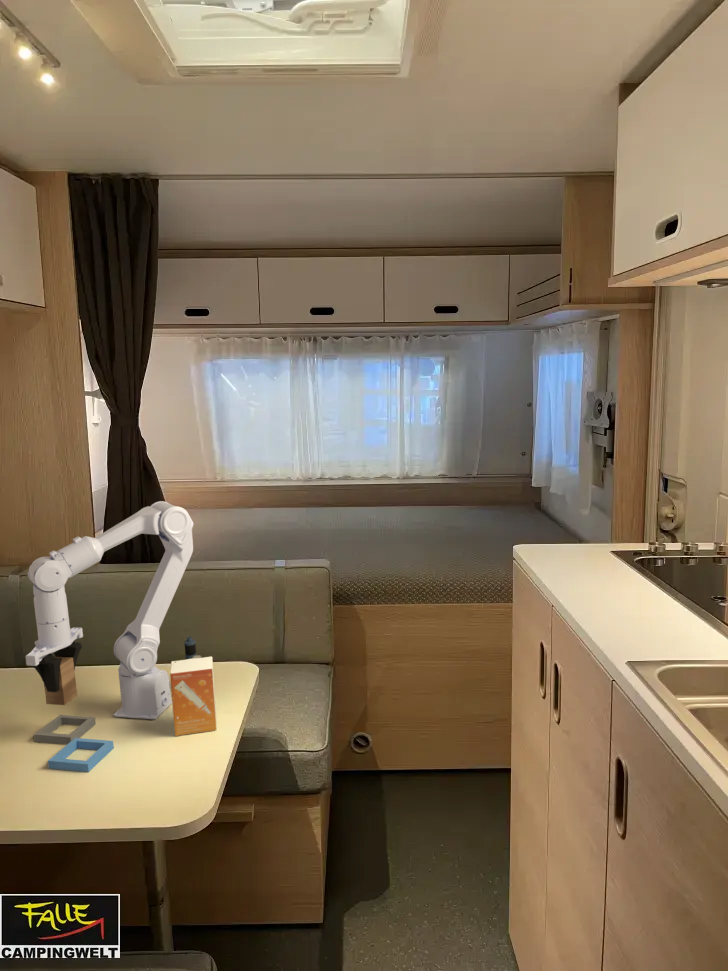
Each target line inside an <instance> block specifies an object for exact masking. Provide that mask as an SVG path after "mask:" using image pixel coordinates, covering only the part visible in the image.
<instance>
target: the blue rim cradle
mask: <svg viewBox="0 0 728 971" xmlns="http://www.w3.org/2000/svg"><path fill="white" fill-rule="evenodd" d="M80 748H81V749H80ZM113 748H115V747H114V740H107V739H94V738H82V737H80V738H74V739H73V740H72V741H71V742H70V743H68V744H65V746H64V747H62V748H61V749H60V750H59V751H58V752H57V753H55V755H53V756H51V758H49V759H48V760H47V763H48V764H47V765H48V769H52V770H62V771H72V772H84V773H89V772H90V771H92V769H94V768H95V767H96V766H97V765H98V764H99V763H100V762H101V761H102V760H104V758H106V756H107V755H108V754H110V753H111V751H113ZM78 749H80V750H82V749H83V750H94V751H95V752H94V753H92V755H91V756H89V757H88V758H87V759H86V760H81V759H70V758H68V757H69V756H70V755H72V754H73V753H74V752H75V751H77V750H78Z"/></svg>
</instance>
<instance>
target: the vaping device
mask: <svg viewBox="0 0 728 971" xmlns="http://www.w3.org/2000/svg"><path fill="white" fill-rule="evenodd" d="M196 644H197V643H196V639H193V637H192V636H187V637H186V640H184V654H185V659H184V660H186V659H193V658H203V657H202V655H201V654H197V645H196Z"/></svg>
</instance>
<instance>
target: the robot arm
mask: <svg viewBox="0 0 728 971" xmlns="http://www.w3.org/2000/svg"><path fill="white" fill-rule="evenodd" d="M194 524H195V523H194V522H193V520H192V518H191V516H190V514H189V512H188V510H186V509H185V508H183V507H181V506H176V505H173V504H171V503H169V502H168V501H163V500H162V501H161V500H159V501H156V502H154V503H152V504H151V505H150V506H149V505H148V506H145V507H142V508H141V509H140V510H138V511H137V512H135V513H133V514H132V515H130V516H129V517H127V518H125V519H124V520H122V521H121V522H118V523H117V524H115V525H114V526H112V527H111V528H108V529H107V530H106V531H104V532H102V533H101V534H99V535H97V536H96V537H91V536H88V535H87V536H86V535H84V536H83V537H80V536H76V537H75V538H72V543H69V544H67V545H65V546H64V547H62V548H59V549H58V550H57V551H56V550H52V551H50V552H49V553H48V554H49V555H50V556H41V557H38V558H36V559H34V561H32V563H31V564H30V565H29V569H28V572H27V577H28V579H29V581H30V582H32V583H33V586H32V589H33V590H32V593H33V595H34V596H33V605H34V613H35V620H36V621H35V622H36V629H37V638H38V639H37V640H35V641H34V645H35V647H34V648H33V649H31V651H30V652H29V653H28V654H26V655H25V664H26V666H30V667H31V666H32V667H33V668H34V669H35V670H36V672H37V674H38V675H39V676H40V678H41V680H42V682H43V685H44V684H45V687H46V689H47V691H48V692H57V691H58V690H59V669H60V664H61V661H62V658H54V657H70V658H73V662H74V671H75V670H76V665H77V662H78V658H79V654H80V652H81V650H82V648H83V646H82V642H76V640H77V639H81V638H83V637H84V633H83V631H84V630H83V627H71V625H70V617H69V609H68V600H67V594H66V589H65V588H66V587H65V585H66V583H67V582H68V580H69V578H70V579H71V578H73V577H74V576H76V575H77V574H79V573H82V572H83V571H85V570H86V569H89V568H91V567H92V566H94V565H95V564H97V563H99V562H101V560H102V557H103V556H104V553H105V552H107V551H108V550H110V549H112V548H114V547H117V546H118V545H121V544H122V543H125V542H127V541H129V540H131V539H133V538H135V537H137V536H140V535H141V534H144V535H154V536H155V535H156V536H158V537H159V539H160V541H161V542H162V545H163V547H164V550H165V551H164V553H163V556H162V558H161V559H160V562H159V565H158V566H157V569H156V571H155V574H154V575H153V578H152V580H151V583H150V585H149V587H148V590H147V592H146V594H145V596H144V598H143V600H142V603H141V605H140V608H139V609H138V612H137V615H136V617H135V619H134V620H133V621H131V623H128V625H127V626H126V627H125V628H126V629H125V630H124V632H123V633H122V634H121V635H120V636H119V637H118V638H117V639H116V641H115V642H114V645H113V655H114V656H115V657H116V659H117V660H119V662H120V663H119V666H118V679H119V680H118V681H119V688H120V702H121V707H120V708H119V709H118V710H117V711H116V712H114V713H113V717H116V718H129V719H140V720H141V719H144V720H156V719H157V718H158V717H159V716H160V715H162V713H164V711H165V710H167V708H168V707H169V706H170V705H171V704H172V695H171V683H170V677H169V676H170V675H169V673H168V672H167V671H166V670H165V669H160V668H158V667H157V666H156V664H157V661H158V648H159V646H160V643H161V640H160V637H161V636H160V629H161V626H162V624H163V622H164V619H165V617H166V615H167V613H168V610H169V608H170V606H171V603H172V600H173V598H174V596H175V594H176V591H177V590H178V587H179V585H180V583H181V580H182V578H183V575H184V574H185V571H186V568H187V567H188V564H189V562H190V560H191V557H192V555H193V552H194V542H193V541H194V540H193V528H194ZM53 654H54V655H53ZM75 672H76V671H75Z"/></svg>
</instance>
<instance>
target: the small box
mask: <svg viewBox="0 0 728 971" xmlns="http://www.w3.org/2000/svg"><path fill="white" fill-rule="evenodd" d="M213 660H214V659H213V656H205V657H202V658H193V659H186V660H185V659H180V660H171V661H170V663H171V664H170V673H169V676H170V677H169V679H170V693H171V700H172V703H171V704H172V715H173V717H172V718H173V726H174V736H175V737H177V736H183V735H184V736H185V735H190V734H191V733H192V734H197V733H198V732H199V733H204V732H205V733H206V731H207V732H215V731H214V730H216V731H217V728H218V727H217V723H218V722H217V706H216V694H215V679H214V678H215V676H214V664H213V663H214V662H213ZM199 733H198V734H199ZM192 734H191V735H192Z"/></svg>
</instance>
